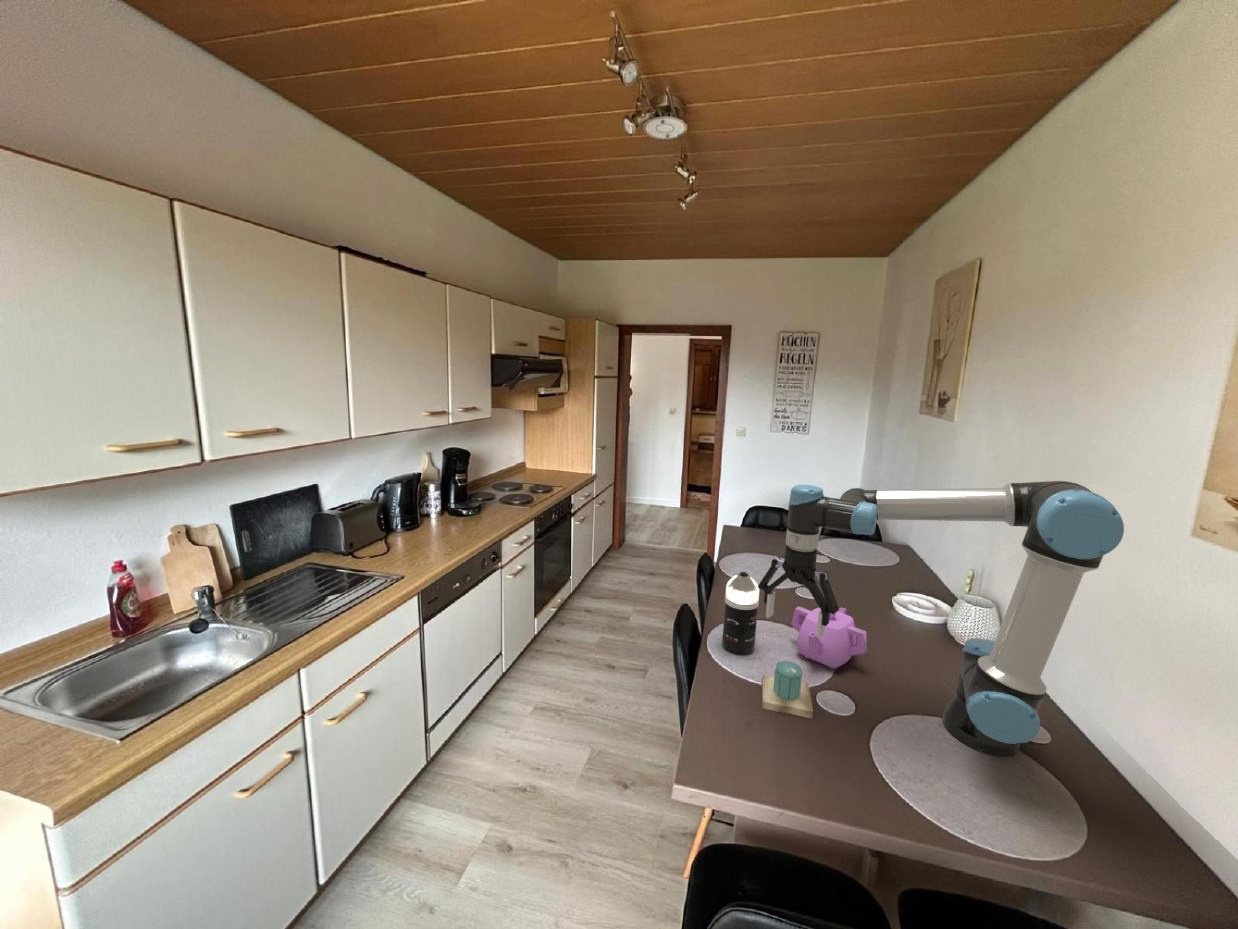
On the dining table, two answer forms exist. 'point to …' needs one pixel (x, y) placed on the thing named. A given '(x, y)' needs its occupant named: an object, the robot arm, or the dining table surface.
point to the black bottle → (740, 614)
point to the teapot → (828, 637)
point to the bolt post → (779, 704)
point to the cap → (787, 680)
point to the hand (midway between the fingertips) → (793, 625)
